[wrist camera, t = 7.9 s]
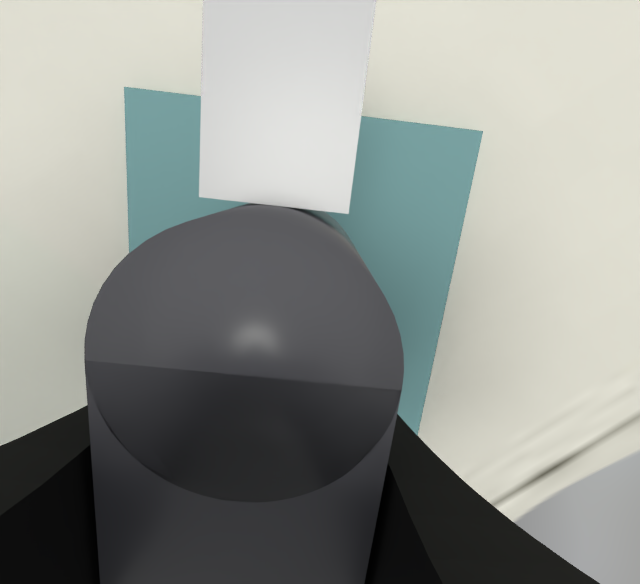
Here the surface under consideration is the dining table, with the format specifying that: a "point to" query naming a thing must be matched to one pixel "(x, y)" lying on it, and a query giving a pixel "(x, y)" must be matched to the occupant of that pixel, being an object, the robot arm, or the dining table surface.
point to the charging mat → (360, 224)
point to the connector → (251, 330)
